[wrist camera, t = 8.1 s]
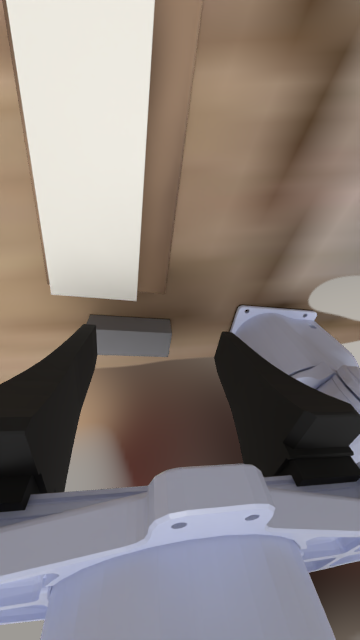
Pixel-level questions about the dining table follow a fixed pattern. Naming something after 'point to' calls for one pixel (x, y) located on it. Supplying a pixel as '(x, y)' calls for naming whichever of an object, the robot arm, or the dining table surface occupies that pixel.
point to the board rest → (131, 336)
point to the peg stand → (156, 133)
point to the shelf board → (86, 135)
